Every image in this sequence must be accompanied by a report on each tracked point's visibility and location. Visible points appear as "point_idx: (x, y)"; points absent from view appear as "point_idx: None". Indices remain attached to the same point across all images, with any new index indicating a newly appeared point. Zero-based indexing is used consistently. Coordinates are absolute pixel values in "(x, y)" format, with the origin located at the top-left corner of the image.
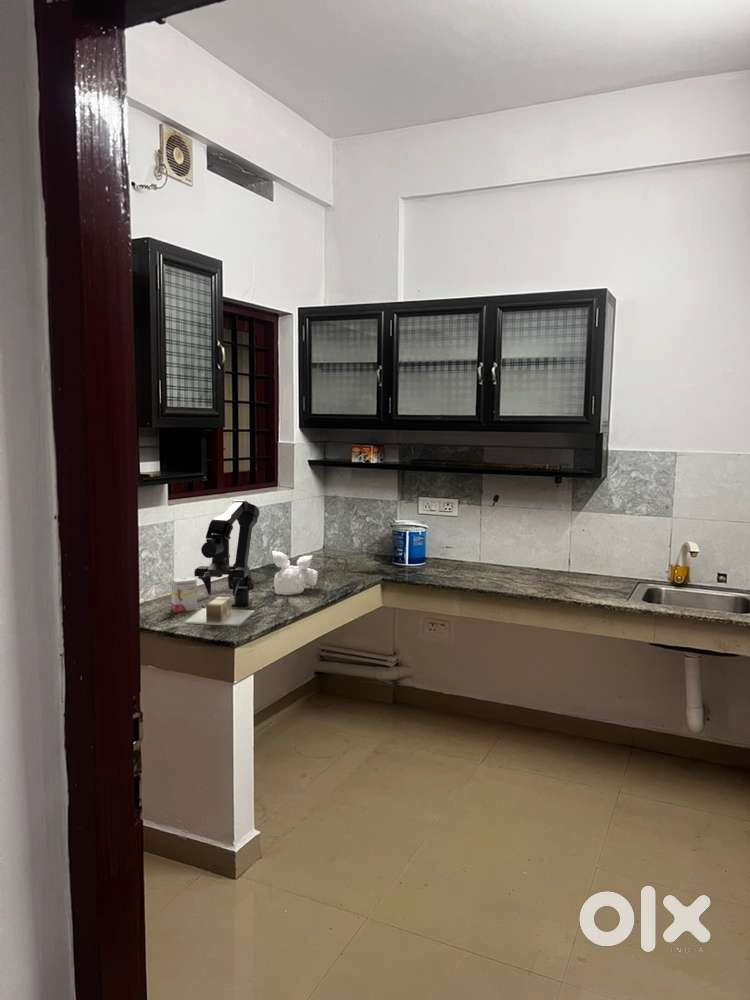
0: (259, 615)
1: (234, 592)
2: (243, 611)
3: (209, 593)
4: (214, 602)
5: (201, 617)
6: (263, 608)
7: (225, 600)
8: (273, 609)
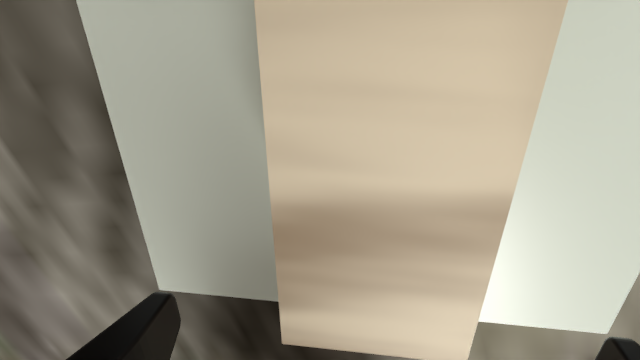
0: (77, 200)
1: (109, 330)
2: (226, 260)
3: (625, 354)
4: (453, 45)
5: (614, 25)
6: None
7: (288, 198)
8: (77, 329)
